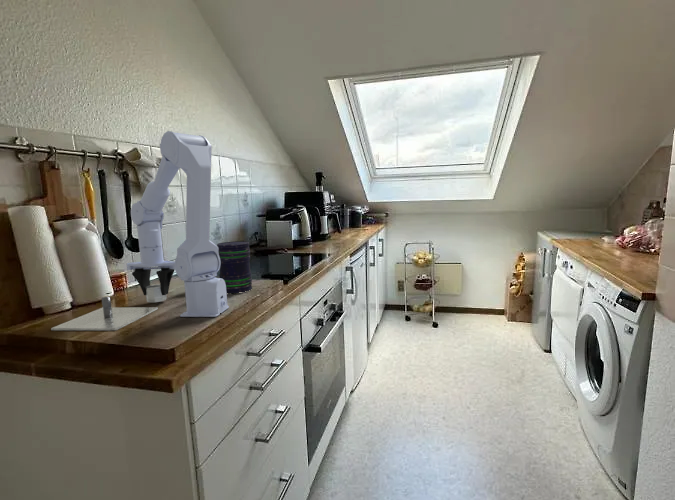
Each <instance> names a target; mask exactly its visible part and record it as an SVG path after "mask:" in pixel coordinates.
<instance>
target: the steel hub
mask: <svg viewBox="0 0 675 500" xmlns="http://www.w3.org/2000/svg"><path fill="white" fill-rule="evenodd" d="M145 290H146V295H145V297H146V302H147V303H159V302H160V303H161V302H164V301H166V300H167V298H168V297H167V294H166V295H162V293H161V286H160V283H156V284H150V285H149V286H147V287H145Z"/></svg>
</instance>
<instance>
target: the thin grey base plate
mask: <svg viewBox="0 0 675 500" xmlns="http://www.w3.org/2000/svg"><path fill="white" fill-rule="evenodd" d="M101 305H102V307H100V308H97V309H95V310H93V311H91V312H88V313H86V314H83V315H81V316H78V317H75V318H73V319H71V320H68V321H65V322H63V323H60V324H58V325H55V326H53V327H51V328H50V330H51V331H91V332H92V331H93V332H95V331H102V332H103V331H106V332H107V331H110V332H111V331H114V332H116V331H118V330H120V329H122V328H124V327H126V326H128V325H130V324H131V323H134V322H136V321H138V320H140V319H141V318H143V317H145V316H147V315H149V314H151V313H153V312H156V311H157V310H158V306H157V307H154V306H151V307H148V306H147V307H146V306H145V307H142V306H141V307H140V306H139V307H138V306H137V307H112V301H111V296H102V297H101Z"/></svg>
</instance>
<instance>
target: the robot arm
mask: <svg viewBox="0 0 675 500" xmlns="http://www.w3.org/2000/svg"><path fill="white" fill-rule="evenodd" d="M212 147H213V146H212V144H211V143H210V141H209V140H208V139H207V137H205V136H204V135H201V134H199V135H198V134H197V135H196V134H189V133H182V132H176V131H175V132H174V131H172V130H168V131H165V132H164V133H163V135H162V137H161V139H160V143H159V151H160V154H161V160H160V162H159V165H158V169H157V171H156V174H155V178H154V181H150V182H148V183H147V184H146V187H145V189H144V192H143V194H142V196H141V198H140V200H137V202H134V203H133V204H132V205H131V209H130V217H131V220H132V222H133V224H135V225H136V230H137V239H138V248H139V256H140V261H133V262H132V261H131V262H128V263H126V270H127V271H132V272H131V275H132V277H134V279H135V280H136V281H137V283H138V284H139V287H140V289H141V291H142V293H143V296H146V290H145V287H147V286H149V285H151V271H152V270H157V271H156V275H157V278H158V282H159V284H160V286H161V293H162V295H166V296H167V295H168V294H169V291H170V290H169V289H170V284H171V281H172V277H173V276H174V273H175V274H176V275H177V277H179V279H180V280H181V281H183V283H184V292H185V302H186V303H185V304H186V311H184V312H182V313H181V314H179V316H180V318H181V317H183V318H184V317H185V318H190V317H191V318H205V317H206V318H209V317H210V318H217V317H218V316H219V315H221V314H222V313H224V312H225V311H226V310H227V309H229V307H230V306H229V305H228V296H227V295H228V294H227V292H226V284H225V281H224V279H222V278H220V277H217V276H218V274H217V273H218V272H220V265H221V261H220V257H219V252H218V249H219V248H218V246H217V244H215V243H214V242H213V241H211V240H210V226H211V225H210V224H211V223H210V222H211V191H212V189H211V187H212V186H211V184H212V153H213V152H212V151H213V150H212ZM179 170H182V171H183V172H184V173H185V175H186V200H185V201H186V203H185V204H186V206H185V207H186V209H185V212H186V213H185V215H186V217H185V224H186V225H185V229H186V230H185V240H184V241H183V242H182V243H181V244H180V245H178V247H177V249H176V257H175V260H164V259H165V258H164V250H163V249H164V247H163V240H162V229H163V221H164V217H165V215H164V214H165V213H164V212H163V209H164V207H165V205H166V203H167V202H168V199H169V197H170V195H171V191H170V188H169V186H170V185H171V183H172V181H173V179H174V178H175V176H176V175H177V173H178V171H179ZM133 270H134V271H133ZM220 313H221V314H220Z"/></svg>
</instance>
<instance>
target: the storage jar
mask: <svg viewBox="0 0 675 500" xmlns="http://www.w3.org/2000/svg"><path fill="white" fill-rule="evenodd" d="M216 246H218V248H219V249H218V252H219V257H220V261H221V265H220V269H219V276H218V278H222V279H224V281H225V284H226V292H227V293H239V292H245V291H248V292H250V291H249V290H251V289H252V290H253V286H252V284H253V278H252V271H251V263H250V260H251V250H250V241H246V240H239V241H238V240H237V241H236V240H235V241H226V242H219V243H216ZM252 290H251V291H252ZM245 293H246V292H245ZM239 294H240V293H239Z"/></svg>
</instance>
